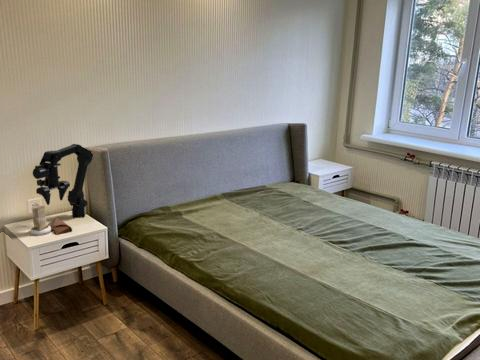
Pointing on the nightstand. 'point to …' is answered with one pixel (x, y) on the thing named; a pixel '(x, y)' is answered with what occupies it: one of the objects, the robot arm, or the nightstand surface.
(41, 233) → the stand
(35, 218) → the beige container
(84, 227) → the nightstand surface
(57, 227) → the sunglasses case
